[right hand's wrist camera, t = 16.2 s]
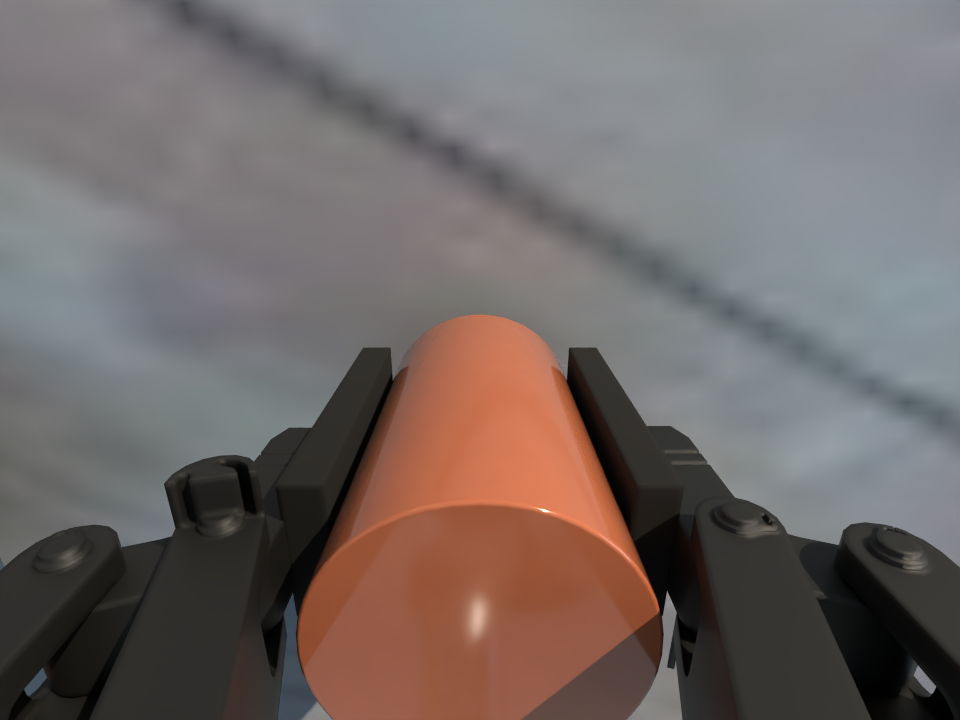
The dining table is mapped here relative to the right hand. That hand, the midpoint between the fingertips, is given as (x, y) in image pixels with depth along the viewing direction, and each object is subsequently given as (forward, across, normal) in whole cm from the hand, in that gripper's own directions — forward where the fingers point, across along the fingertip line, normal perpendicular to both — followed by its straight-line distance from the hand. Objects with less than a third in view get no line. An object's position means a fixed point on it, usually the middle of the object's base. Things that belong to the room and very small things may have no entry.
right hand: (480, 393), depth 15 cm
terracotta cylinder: (0, 0, 0) cm, 0 cm away
